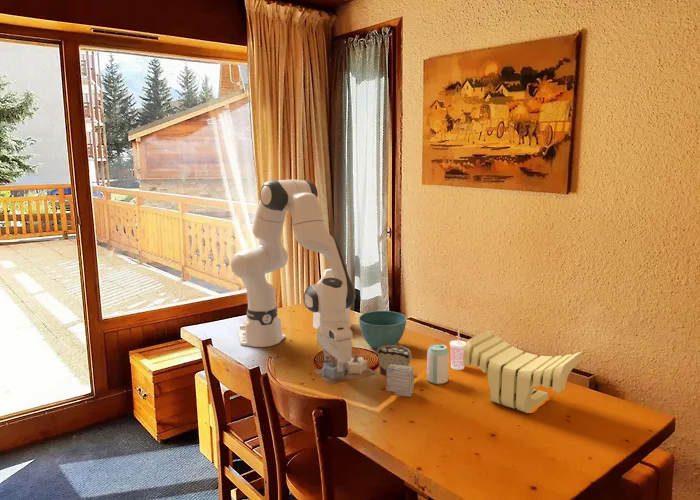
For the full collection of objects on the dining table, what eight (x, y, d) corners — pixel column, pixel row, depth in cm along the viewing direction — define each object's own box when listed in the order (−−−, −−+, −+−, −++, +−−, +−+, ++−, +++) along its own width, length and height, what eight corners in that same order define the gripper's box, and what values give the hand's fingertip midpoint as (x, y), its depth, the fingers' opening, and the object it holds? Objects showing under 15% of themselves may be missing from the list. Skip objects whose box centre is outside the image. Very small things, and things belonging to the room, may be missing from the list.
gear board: (313, 373, 189) (312, 353, 187) (359, 363, 197) (359, 345, 195) (329, 387, 177) (328, 367, 176) (376, 377, 185) (377, 357, 184)
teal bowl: (399, 359, 201) (400, 327, 199) (353, 353, 207) (352, 322, 204) (410, 342, 218) (410, 313, 216) (367, 337, 224) (366, 309, 221)
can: (430, 375, 187) (431, 341, 184) (450, 378, 184) (451, 344, 181) (424, 382, 180) (424, 348, 178) (444, 386, 177) (445, 352, 175)
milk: (333, 321, 245) (332, 264, 241) (350, 327, 237) (350, 269, 232) (312, 327, 237) (311, 269, 233) (329, 333, 229) (328, 273, 224)
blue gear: (318, 372, 186) (318, 363, 186) (339, 368, 190) (339, 359, 189) (327, 380, 180) (327, 371, 179) (348, 375, 183) (348, 367, 183)
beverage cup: (446, 368, 192) (447, 330, 189) (451, 362, 197) (453, 325, 194) (463, 371, 189) (464, 333, 186) (468, 365, 194) (469, 328, 192)
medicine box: (413, 391, 174) (414, 366, 172) (410, 397, 170) (410, 371, 168) (389, 388, 176) (389, 363, 175) (386, 394, 172) (386, 368, 171)
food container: (416, 375, 186) (416, 347, 185) (410, 382, 181) (410, 353, 179) (382, 369, 192) (382, 342, 190) (376, 376, 186) (376, 348, 184)
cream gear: (340, 371, 187) (340, 362, 187) (353, 363, 194) (352, 355, 193) (358, 376, 183) (358, 367, 183) (370, 368, 190) (370, 359, 189)
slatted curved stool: (462, 395, 171) (463, 342, 167) (487, 379, 182) (489, 329, 179) (556, 428, 151) (560, 367, 148) (577, 407, 162) (582, 351, 159)
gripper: (312, 319, 189) (313, 357, 192) (337, 337, 172) (337, 378, 174) (328, 317, 192) (329, 353, 195) (355, 334, 174) (355, 374, 177)
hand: (333, 365), depth 184 cm, fingers open, 8 cm apart
